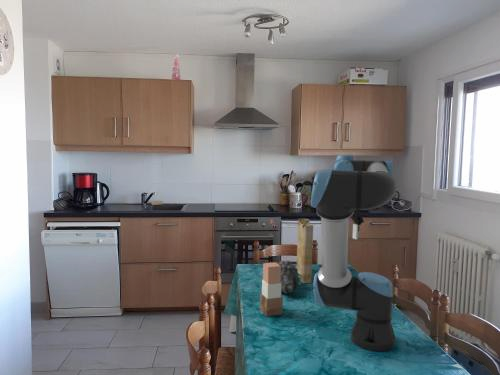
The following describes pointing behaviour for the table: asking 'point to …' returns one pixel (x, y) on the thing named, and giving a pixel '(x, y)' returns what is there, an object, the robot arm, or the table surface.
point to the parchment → (304, 250)
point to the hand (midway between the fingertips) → (341, 239)
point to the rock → (288, 276)
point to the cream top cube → (271, 290)
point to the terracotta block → (271, 273)
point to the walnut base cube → (271, 305)
